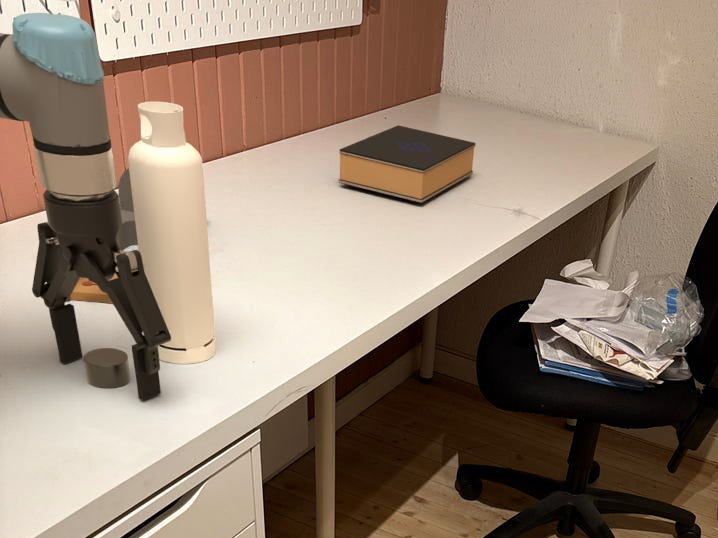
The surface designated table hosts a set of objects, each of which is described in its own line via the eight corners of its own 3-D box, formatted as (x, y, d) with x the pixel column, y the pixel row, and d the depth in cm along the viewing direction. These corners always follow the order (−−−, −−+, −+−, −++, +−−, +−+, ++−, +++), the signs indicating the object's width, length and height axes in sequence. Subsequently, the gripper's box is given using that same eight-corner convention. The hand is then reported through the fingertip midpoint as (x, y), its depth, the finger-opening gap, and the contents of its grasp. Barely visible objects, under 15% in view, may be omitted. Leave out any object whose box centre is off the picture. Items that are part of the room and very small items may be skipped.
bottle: (140, 342, 123) (109, 99, 105) (199, 332, 127) (179, 96, 109) (167, 368, 118) (140, 118, 100) (227, 356, 122) (211, 115, 104)
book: (338, 187, 181) (339, 149, 177) (396, 160, 199) (397, 125, 195) (421, 207, 177) (423, 169, 173) (472, 178, 195) (475, 142, 191)
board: (60, 298, 130) (58, 289, 129) (91, 257, 142) (90, 248, 141) (180, 309, 132) (179, 300, 131) (201, 268, 144) (200, 259, 143)
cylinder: (81, 386, 113) (78, 364, 111) (93, 367, 116) (89, 346, 114) (125, 390, 113) (122, 367, 111) (135, 371, 117) (132, 349, 115)
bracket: (208, 223, 158) (203, 153, 151) (162, 258, 145) (154, 183, 138) (153, 213, 159) (145, 143, 152) (101, 247, 145) (90, 172, 138)
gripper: (192, 213, 99) (208, 401, 113) (32, 155, 108) (65, 336, 121) (135, 228, 94) (160, 423, 108) (-28, 167, 103) (14, 354, 116)
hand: (110, 377), depth 115 cm, fingers open, 13 cm apart
